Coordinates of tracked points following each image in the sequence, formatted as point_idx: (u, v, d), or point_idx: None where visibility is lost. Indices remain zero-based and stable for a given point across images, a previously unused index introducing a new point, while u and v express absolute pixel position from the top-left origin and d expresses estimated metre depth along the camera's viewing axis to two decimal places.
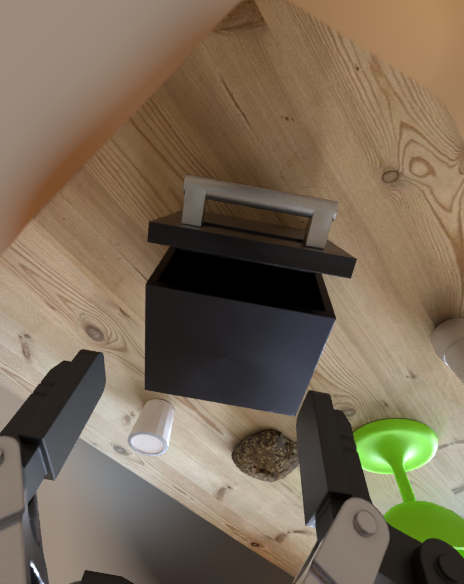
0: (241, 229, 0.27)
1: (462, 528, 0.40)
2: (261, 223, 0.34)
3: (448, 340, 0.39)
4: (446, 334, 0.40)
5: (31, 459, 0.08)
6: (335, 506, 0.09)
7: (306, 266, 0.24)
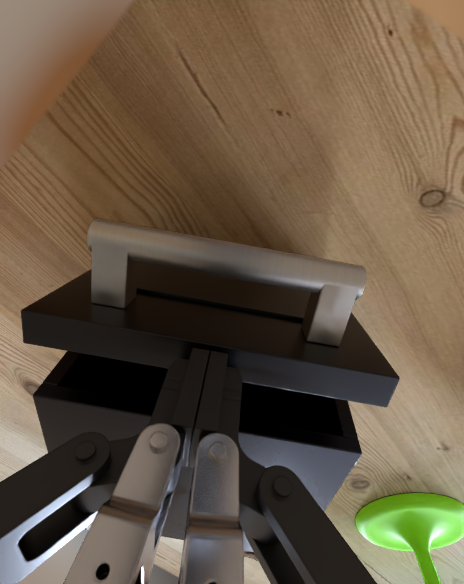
0: (201, 300, 0.17)
1: None
2: None
3: None
4: None
5: (183, 445, 0.09)
6: None
7: (307, 388, 0.13)
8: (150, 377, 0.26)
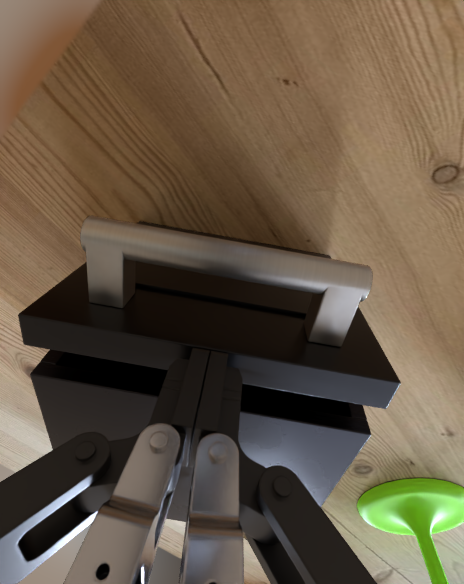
0: (202, 295, 0.16)
1: None
2: None
3: None
4: None
5: (183, 445, 0.09)
6: None
7: (306, 390, 0.13)
8: None
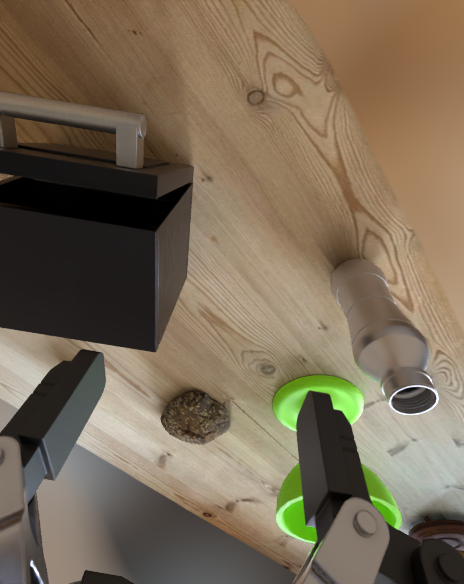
0: (63, 153, 0.26)
1: None
2: None
3: (339, 280, 0.37)
4: (338, 274, 0.38)
5: (31, 459, 0.08)
6: (335, 506, 0.09)
7: (107, 186, 0.23)
8: None
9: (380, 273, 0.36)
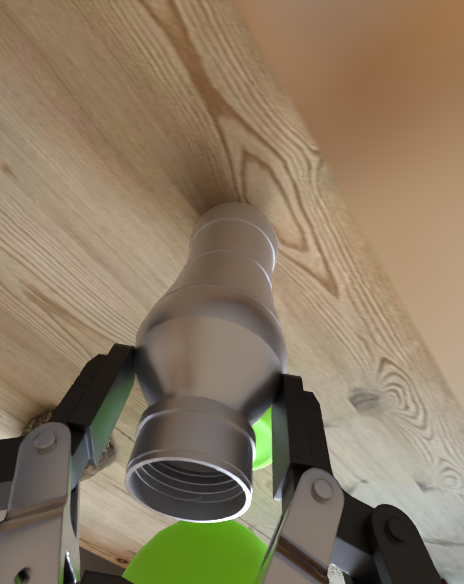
0: None
1: (228, 568, 0.23)
2: None
3: (193, 233, 0.22)
4: (195, 226, 0.22)
5: (79, 444, 0.09)
6: (297, 477, 0.09)
7: None
8: None
9: (258, 221, 0.21)
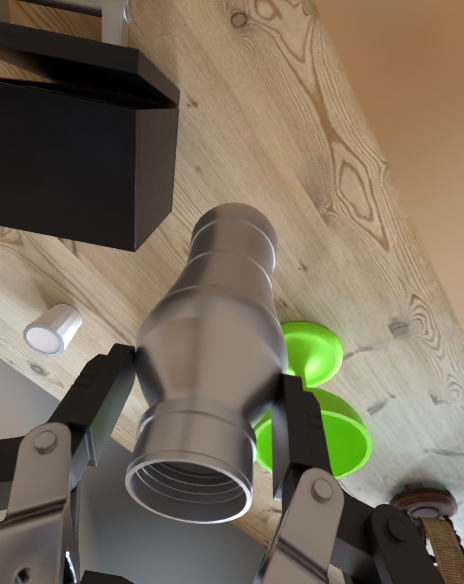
0: None
1: (331, 399, 0.40)
2: None
3: (193, 234, 0.22)
4: (195, 226, 0.22)
5: (79, 444, 0.09)
6: (297, 477, 0.09)
7: (92, 60, 0.24)
8: None
9: (259, 222, 0.21)
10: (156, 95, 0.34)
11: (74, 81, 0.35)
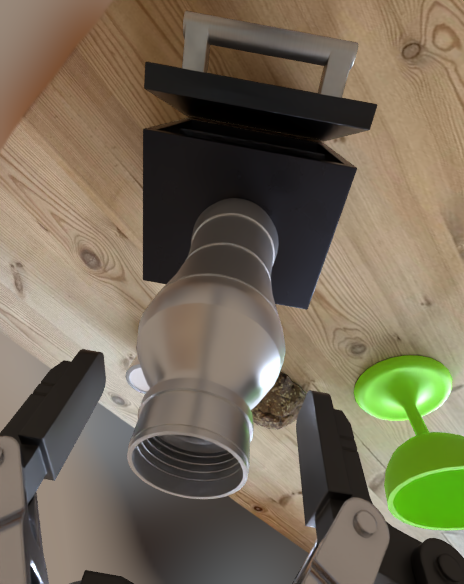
0: None
1: None
2: None
3: (194, 229, 0.22)
4: (197, 221, 0.23)
5: (31, 459, 0.08)
6: (335, 506, 0.09)
7: (320, 116, 0.22)
8: None
9: (258, 217, 0.21)
10: (322, 136, 0.31)
11: (225, 120, 0.32)
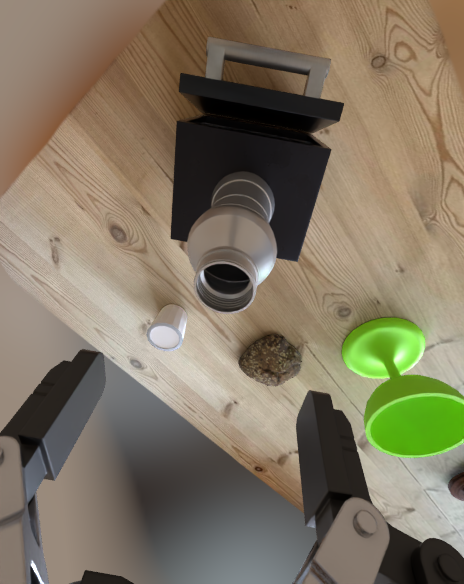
0: None
1: (442, 384, 0.46)
2: None
3: (214, 192, 0.31)
4: (215, 187, 0.32)
5: (31, 459, 0.08)
6: (335, 506, 0.09)
7: (304, 111, 0.30)
8: None
9: (260, 183, 0.30)
10: (309, 128, 0.40)
11: (233, 115, 0.41)
